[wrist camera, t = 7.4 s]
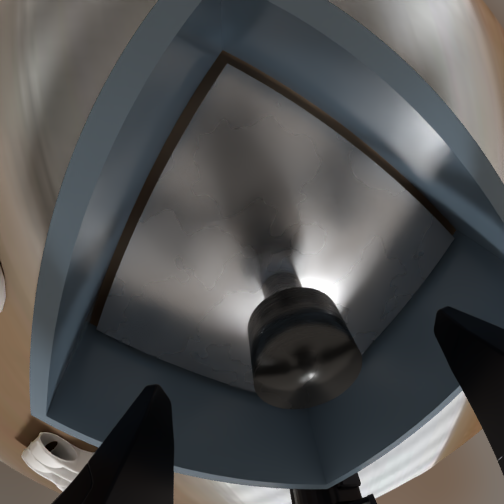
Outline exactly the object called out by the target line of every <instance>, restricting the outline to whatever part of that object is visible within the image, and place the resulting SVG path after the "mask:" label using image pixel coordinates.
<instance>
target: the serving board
mask: <svg viewBox="0 0 504 504" xmlns="http://www.w3.org/2000/svg"><path fill="white" fill-rule="evenodd" d="M227 64H229V65H231V66H233V67H235V68H237V69H239V70H240V71H242V72H244V73H246V74H248V75H249V76H251V77H253V78H255V79H256V80H258V81H260V82H261V83H263V84H265V85H267V86H268V87H270V88H272V89H273V90H275V91H276V92H278V93H280V94H281V95H283V96H284V97H286V98H288V99H289V100H291V101H292V102H294V103H295V104H297V105H298V106H300V107H301V108H303V109H304V110H306V111H307V112H309V113H310V114H312V115H313V116H315V117H316V118H317V119H319V120H320V121H322V122H323V123H325V124H326V125H327V126H329V127H330V128H331V129H333V130H334V131H336V132H337V133H338V134H340V135H341V136H342V137H344V138H345V139H346V140H347V141H349V142H350V143H351V144H353V145H354V146H355V147H356V148H358V149H359V150H360V151H362V152H363V153H364V154H365V155H367V156H368V157H369V158H370V159H371V160H373V161H374V162H375V163H376V164H377V165H379V166H380V167H381V168H382V169H383V170H384V171H386V172H387V173H388V174H389V175H390V176H391V177H393V178H394V179H395V180H396V181H397V182H398V183H399V184H400V185H401V186H403V187H404V188H405V189H406V190H407V191H408V192H409V193H410V194H411V195H412V196H413V197H414V198H416V199H417V200H418V201H419V202H420V203H421V204H422V205H423V206H424V207H425V208H426V209H427V210H428V211H429V212H430V213H431V214H432V215H433V216H434V217H435V218H436V219H437V220H438V221H439V222H440V223H441V224H442V225H443V226H444V227H445V228H446V230H447V231H448V232H449V233H450V234H451V235H452V236H453V234H454V233H455V231H456V229H455V228H454V227H453V226H452V225H451V224H450V223H449V221H448V220H447V219H446V218H445V217H444V216H443V215H442V214H441V213H440V212H439V211H438V210H437V209H436V208H435V207H434V206H433V205H432V204H431V203H430V201H429V200H428V199H427V198H426V197H425V196H424V195H423V194H422V193H420V192H419V191H418V190H417V189H416V188H415V187H414V186H413V185H412V184H411V183H410V182H409V181H408V180H407V179H406V178H405V177H404V176H403V175H402V174H400V173H399V172H398V171H397V170H396V169H395V168H394V167H393V166H392V165H390V164H389V163H388V162H387V161H386V160H385V159H384V158H382V157H381V156H380V155H379V154H378V153H377V152H375V151H374V150H373V149H372V148H371V147H369V146H368V145H367V144H366V143H364V142H363V141H362V140H361V139H360V138H358V137H357V136H356V135H354V134H353V133H352V132H351V131H349V130H348V129H347V128H345V127H344V126H343V125H342V124H340V123H339V122H338V121H336V120H335V119H333V118H332V117H331V116H329V115H328V114H327V113H325V112H324V111H322V110H321V109H320V108H318V107H317V106H315V105H314V104H312V103H311V102H309V101H308V100H307V99H305V98H304V97H302V96H301V95H299V94H298V93H296V92H294V91H293V90H291V89H290V88H288V87H287V86H285V85H283V84H282V83H280V82H279V81H277V80H275V79H274V78H272V77H270V76H269V75H267V74H265V73H264V72H262V71H260V70H259V69H257V68H255V67H253V66H252V65H250V64H248V63H246V62H244V61H242V60H241V59H239V58H237V57H235V56H233V55H231V54H229V53H227V52H225V51H223V50H222V52H221V53H220V55H219V56H218V57H217V59H216V60H215V62H214V63H213V65H212V66H211V68H210V69H209V71H208V72H207V74H206V75H205V77H204V78H203V80H202V81H201V83H200V85H199V86H198V88H197V89H196V91H195V92H194V94H193V96H192V97H191V99H190V101H189V102H188V104H187V106H186V107H185V109H184V111H183V112H182V114H181V116H180V117H179V119H178V121H177V123H176V124H175V126H174V128H173V130H172V131H171V133H170V135H169V137H168V139H167V140H166V142H165V144H164V146H163V148H162V150H161V152H160V154H159V155H158V157H157V159H156V161H155V163H154V165H153V167H152V169H151V171H150V173H149V175H148V177H147V179H146V181H145V183H144V185H143V188H142V190H141V192H140V194H139V196H138V198H137V200H136V203H135V205H134V207H133V209H132V211H131V214H130V216H129V218H128V221H127V223H126V225H125V228H124V230H123V232H122V235H121V237H120V240H119V242H118V245H117V247H116V250H115V252H114V255H113V257H112V260H111V262H110V265H109V268H108V270H107V273H106V276H105V279H104V282H103V284H102V287H101V290H100V293H99V296H98V299H97V302H96V305H95V308H94V311H93V314H92V318H91V321H90V323H91V324H93V325H95V326H98V323H99V320H100V317H101V314H102V311H103V308H104V305H105V302H106V300H107V297H108V294H109V291H110V289H111V286H112V283H113V281H114V278H115V276H116V273H117V271H118V268H119V266H120V263H121V261H122V258H123V256H124V253H125V251H126V249H127V246H128V244H129V241H130V239H131V237H132V235H133V232H134V230H135V228H136V226H137V223H138V221H139V219H140V217H141V215H142V212H143V210H144V208H145V206H146V204H147V202H148V200H149V198H150V196H151V194H152V192H153V190H154V188H155V186H156V184H157V182H158V180H159V178H160V176H161V174H162V172H163V170H164V168H165V166H166V164H167V162H168V160H169V158H170V157H171V155H172V153H173V151H174V149H175V147H176V146H177V144H178V142H179V140H180V138H181V137H182V135H183V133H184V131H185V130H186V128H187V126H188V125H189V123H190V121H191V119H192V118H193V116H194V114H195V113H196V111H197V109H198V108H199V106H200V105H201V103H202V101H203V100H204V98H205V97H206V95H207V93H208V92H209V90H210V89H211V87H212V86H213V84H214V82H215V81H216V79H217V78H218V76H219V75H220V73H221V72H222V70H223V69H224V67H225V66H226V65H227Z"/></svg>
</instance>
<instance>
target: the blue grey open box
mask: <svg viewBox="0 0 504 504" xmlns="http://www.w3.org/2000/svg"><path fill="white" fill-rule="evenodd" d="M222 50H223V51H225V52H227V53H229V54H231V55H233V56H235V57H237V58H239V59H241V60H242V61H244V62H246V63H248V64H250V65H252V66H253V67H255V68H257V69H259V70H260V71H262V72H264V73H265V74H267V75H269V76H270V77H272V78H274V79H275V80H277V81H279V82H280V83H282V84H283V85H285V86H287V87H288V88H290V89H291V90H293V91H294V92H296V93H298V94H299V95H301V96H302V97H304V98H305V99H307V100H308V101H309V102H311V103H312V104H314V105H315V106H317V107H318V108H320V109H321V110H322V111H324V112H325V113H327V114H328V115H329V116H331V117H332V118H333V119H335V120H336V121H338V122H339V123H340V124H342V125H343V126H344V127H345V128H347V129H348V130H349V131H351V132H352V133H353V134H354V135H356V136H357V137H358V138H360V139H361V140H362V141H363V142H364V143H366V144H367V145H368V146H369V147H371V148H372V149H373V150H374V151H375V152H377V153H378V154H379V155H380V156H381V157H382V158H384V159H385V160H386V161H387V162H388V163H389V164H390V165H392V166H393V167H394V168H395V169H396V170H397V171H398V172H399V173H400V174H402V175H403V176H404V177H405V178H406V179H407V180H408V181H409V182H410V183H411V184H412V185H413V186H414V187H415V188H416V189H417V190H418V191H419V192H420V193H422V194H423V195H424V196H425V197H426V198H427V199H428V200H429V201H430V203H431V204H432V205H433V206H434V207H435V208H436V209H437V210H438V211H439V212H440V213H441V214H442V215H443V216H444V217H445V218H446V219H447V220H448V221H449V223H450V224H451V225H452V226H453V227H454V228H455V229H456V231H455V233H454V234H453V237H454V240H453V241H452V243H451V244H450V246H449V247H448V249H447V250H446V252H445V253H444V255H443V256H442V257H441V259H440V260H439V262H438V263H437V264H436V266H435V267H434V269H433V270H432V271H431V273H430V274H429V275H428V277H427V278H426V279H425V281H424V282H423V283H422V285H421V286H420V287H419V289H418V290H417V291H416V292H415V294H414V295H413V296H412V297H411V299H410V300H409V301H408V302H407V304H406V305H405V306H404V307H403V308H402V310H401V311H400V312H399V313H398V314H397V316H396V317H395V318H394V319H393V320H392V321H391V323H390V324H389V325H388V326H387V327H386V328H385V329H384V331H383V332H382V333H381V334H380V335H379V336H378V337H377V338H376V339H375V340H374V342H373V343H372V344H371V345H370V346H369V347H368V348H367V349H366V350H365V351H364V352H363V353H362V354H361V355H362V368H361V371H360V373H359V375H358V377H357V379H356V380H355V381H354V383H353V384H352V385H351V386H350V387H349V388H348V389H347V390H346V391H344V392H343V393H342V394H340V395H339V396H337V397H336V398H334V399H332V400H330V401H328V402H326V403H323V404H321V405H317V406H314V407H310V408H304V409H283V408H278V407H275V406H272V405H270V404H267V403H266V402H264V401H263V400H262V399H261V398H260V397H259V396H258V395H257V393H254V392H251V391H247V390H244V389H241V388H238V387H235V386H232V385H229V384H226V383H223V382H220V381H217V380H214V379H211V378H208V377H205V376H202V375H200V374H197V373H194V372H192V371H189V370H186V369H184V368H181V367H179V366H176V365H174V364H171V363H169V362H166V361H164V360H161V359H159V358H157V357H154V356H152V355H149V354H147V353H145V352H143V351H140V350H138V349H136V348H134V347H131V346H129V345H127V344H125V343H123V342H121V341H119V340H117V339H114V338H112V337H110V336H108V335H106V334H104V333H102V332H100V331H98V330H96V329H97V326H95V325H93V324H91V323H90V321H91V318H92V314H93V311H94V308H95V305H96V302H97V299H98V296H99V293H100V290H101V287H102V284H103V282H104V279H105V276H106V273H107V270H108V268H109V265H110V262H111V260H112V257H113V255H114V252H115V250H116V247H117V245H118V242H119V240H120V237H121V235H122V232H123V230H124V228H125V225H126V223H127V221H128V218H129V216H130V214H131V211H132V209H133V207H134V205H135V203H136V200H137V198H138V196H139V194H140V192H141V190H142V188H143V185H144V183H145V181H146V179H147V177H148V175H149V173H150V171H151V169H152V167H153V165H154V163H155V161H156V159H157V157H158V155H159V154H160V152H161V150H162V148H163V146H164V144H165V142H166V140H167V139H168V137H169V135H170V133H171V131H172V130H173V128H174V126H175V124H176V123H177V121H178V119H179V117H180V116H181V114H182V112H183V111H184V109H185V107H186V106H187V104H188V102H189V101H190V99H191V97H192V96H193V94H194V92H195V91H196V89H197V88H198V86H199V85H200V83H201V81H202V80H203V78H204V77H205V75H206V74H207V72H208V71H209V69H210V68H211V66H212V65H213V63H214V62H215V60H216V59H217V57H218V56H219V55H220V53H221V52H222ZM446 306H450V307H452V308H455V309H457V310H460V311H462V312H465V313H467V314H469V315H472V316H474V317H477V318H479V319H482V320H484V321H487V322H489V323H491V324H494V325H496V326H499V327H501V328H503V329H504V184H503V183H502V181H501V179H500V178H499V176H498V174H497V173H496V171H495V170H494V168H493V166H492V165H491V163H490V162H489V160H488V159H487V157H486V156H485V154H484V153H483V151H482V150H481V148H480V147H479V146H478V144H477V143H476V141H475V140H474V139H473V137H472V136H471V135H470V133H469V132H468V131H467V129H466V128H465V127H464V125H463V124H462V123H461V122H460V120H459V119H458V118H457V117H456V115H455V114H454V113H453V112H452V111H451V109H450V108H449V107H448V106H447V105H446V104H445V102H444V101H443V100H442V99H441V98H440V97H439V96H438V94H437V93H436V92H435V91H434V90H433V89H432V88H431V87H430V86H429V85H428V84H427V83H426V82H425V81H424V80H423V78H422V77H421V76H420V75H419V74H418V73H417V72H416V71H415V70H414V69H412V68H411V67H410V66H409V65H408V64H407V63H406V62H405V61H404V60H403V59H402V58H401V57H400V56H399V55H398V54H396V53H395V52H394V51H393V50H392V49H391V48H390V47H389V46H387V45H386V44H385V43H384V42H383V41H382V40H380V39H379V38H378V37H377V36H375V35H374V34H373V33H372V32H370V31H369V30H368V29H367V28H365V27H364V26H363V25H361V24H360V23H359V22H358V21H356V20H355V19H353V18H352V17H351V16H349V15H348V14H347V13H345V12H344V11H342V10H341V9H339V8H338V7H336V6H335V5H333V4H332V3H330V2H329V1H327V0H158V2H157V3H156V4H155V6H154V7H153V8H152V10H151V11H150V12H149V14H148V15H147V16H146V18H145V19H144V21H143V22H142V23H141V25H140V26H139V28H138V29H137V31H136V32H135V34H134V35H133V37H132V38H131V40H130V41H129V43H128V45H127V46H126V48H125V49H124V51H123V53H122V54H121V56H120V58H119V59H118V61H117V63H116V64H115V66H114V68H113V70H112V71H111V73H110V75H109V77H108V79H107V80H106V82H105V84H104V86H103V88H102V90H101V92H100V94H99V96H98V98H97V100H96V102H95V104H94V106H93V108H92V110H91V112H90V114H89V116H88V119H87V121H86V123H85V125H84V128H83V130H82V132H81V135H80V137H79V139H78V142H77V144H76V147H75V149H74V152H73V154H72V157H71V160H70V162H69V165H68V168H67V171H66V173H65V176H64V179H63V182H62V185H61V188H60V191H59V195H58V198H57V201H56V205H55V208H54V212H53V215H52V219H51V223H50V226H49V230H48V234H47V239H46V243H45V247H44V252H43V257H42V262H41V267H40V272H39V278H38V284H37V291H36V297H35V305H34V313H33V323H32V335H31V351H30V408H31V415H32V416H34V417H36V418H38V419H40V420H41V421H43V422H45V423H47V424H49V425H51V426H53V427H55V428H57V429H59V430H61V431H63V432H65V433H67V434H69V435H71V436H73V437H75V438H78V439H80V440H82V441H84V442H87V443H89V444H91V445H94V446H96V447H100V445H101V444H102V443H103V441H104V440H105V439H106V437H107V436H108V435H109V433H110V432H111V431H112V430H113V428H114V427H115V426H116V424H117V423H118V422H119V420H120V419H121V418H122V416H123V415H124V414H125V413H126V411H127V410H128V409H129V407H130V406H131V405H132V403H133V402H134V401H135V399H136V398H137V397H138V396H139V394H140V393H141V392H142V390H143V389H144V388H145V387H146V386H147V385H152V384H159V385H160V386H161V387H162V389H163V390H164V391H165V393H166V394H167V396H168V397H169V399H170V401H171V405H172V419H173V433H174V472H176V473H180V474H185V475H189V476H194V477H199V478H204V479H209V480H214V481H220V482H227V483H233V484H241V485H249V486H259V487H270V488H286V489H328V488H330V487H332V486H334V485H336V484H338V483H339V482H341V481H343V480H345V479H346V478H348V477H350V476H352V475H353V474H355V473H357V472H358V471H360V470H362V469H363V468H365V467H366V466H368V465H370V464H371V463H373V462H374V461H376V460H377V459H379V458H380V457H382V456H383V455H385V454H386V453H388V452H389V451H390V450H392V449H393V448H395V447H396V446H397V445H399V444H400V443H402V442H403V441H404V440H406V439H407V438H408V437H410V436H411V435H412V434H413V433H415V432H416V431H417V430H418V429H420V428H421V427H422V426H423V425H425V424H426V423H427V422H428V421H429V420H431V419H432V418H433V417H434V416H435V415H436V414H438V413H439V412H440V411H441V410H442V409H443V408H444V407H445V406H447V405H448V404H449V403H450V402H451V401H452V400H453V399H454V398H455V397H456V396H457V395H458V394H459V393H460V392H461V391H462V388H461V387H460V385H459V383H458V381H457V380H456V378H455V376H454V374H453V373H452V371H451V369H450V367H449V365H448V362H447V360H446V358H445V356H444V354H443V351H442V349H441V347H440V345H439V343H438V341H437V339H436V337H435V334H434V323H435V318H436V313H437V311H438V310H439V309H441V308H443V307H446Z"/></svg>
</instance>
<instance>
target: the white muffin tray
mask: <svg viewBox="0 0 504 504" xmlns="http://www.w3.org/2000/svg"><path fill="white" fill-rule="evenodd" d="M53 441H57V442H58V444H57V446H56V447H55V448H54V449H53V450H51V452H49V451H48V450H47V449H46V448H45V447H44V446H46V445H47V444H48V443H50V442H53ZM94 453H95V452H88V451H85V450H81V449H79V448H77V447H76V446H74V445H72V444H70V443H69V442H68V441H66V440H65V439H63V438H61V437H59V436H58V435H56V434H53V433H49V432H40V433H39V436H38V437H37V438H36V439H35V440H34V441H33V442H31V443H30V445H29V446H28V447H27V448H26V449H24V450H23V453H22V456H21V457H22V458H23V460H24V461H25V462H26V464H27V465H28V466H29V467H30V468H31V469H32V470H34V471H35V472H36V473H38V474H39V475H41V476H43V477H44V478H46V479H48V480H50V481H52V482H53V483H54V484H56V486H57V487H58V488H59V489H60V490H62V491H64V490H65V489H66V488H67V487H68V486H69V485H70V483H71V482H72V481H73V480H74V479H75V477H76V476H77V475H78V474H79V473H80V471H81V470H82V469H83V467H84V466H85V465H86V464H87V463H88V461H89V460H90V458H91V457H92V456H93V454H94Z"/></svg>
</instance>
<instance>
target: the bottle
mask: <svg viewBox="0 0 504 504" xmlns="http://www.w3.org/2000/svg"><path fill="white" fill-rule="evenodd" d="M5 299H6V293H5V280H4V276H3V273H2V269H1V266H0V312H1V311H2V310H3V306H4V302H5Z"/></svg>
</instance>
